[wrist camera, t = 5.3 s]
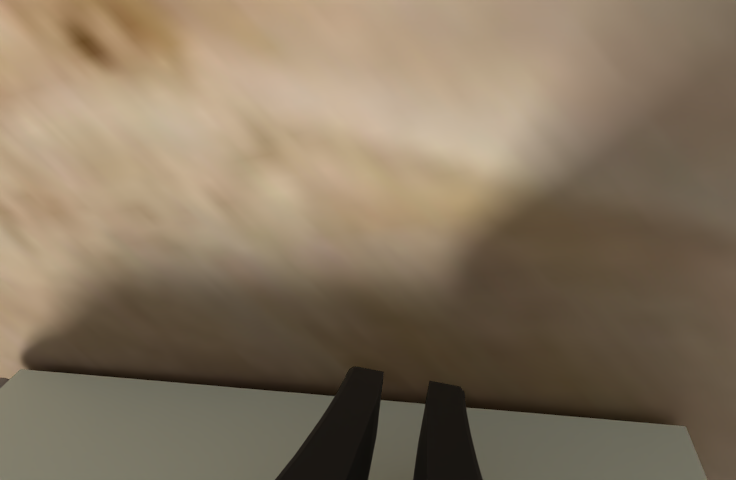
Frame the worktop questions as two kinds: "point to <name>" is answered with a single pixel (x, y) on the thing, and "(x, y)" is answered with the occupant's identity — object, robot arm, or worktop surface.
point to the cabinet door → (291, 435)
